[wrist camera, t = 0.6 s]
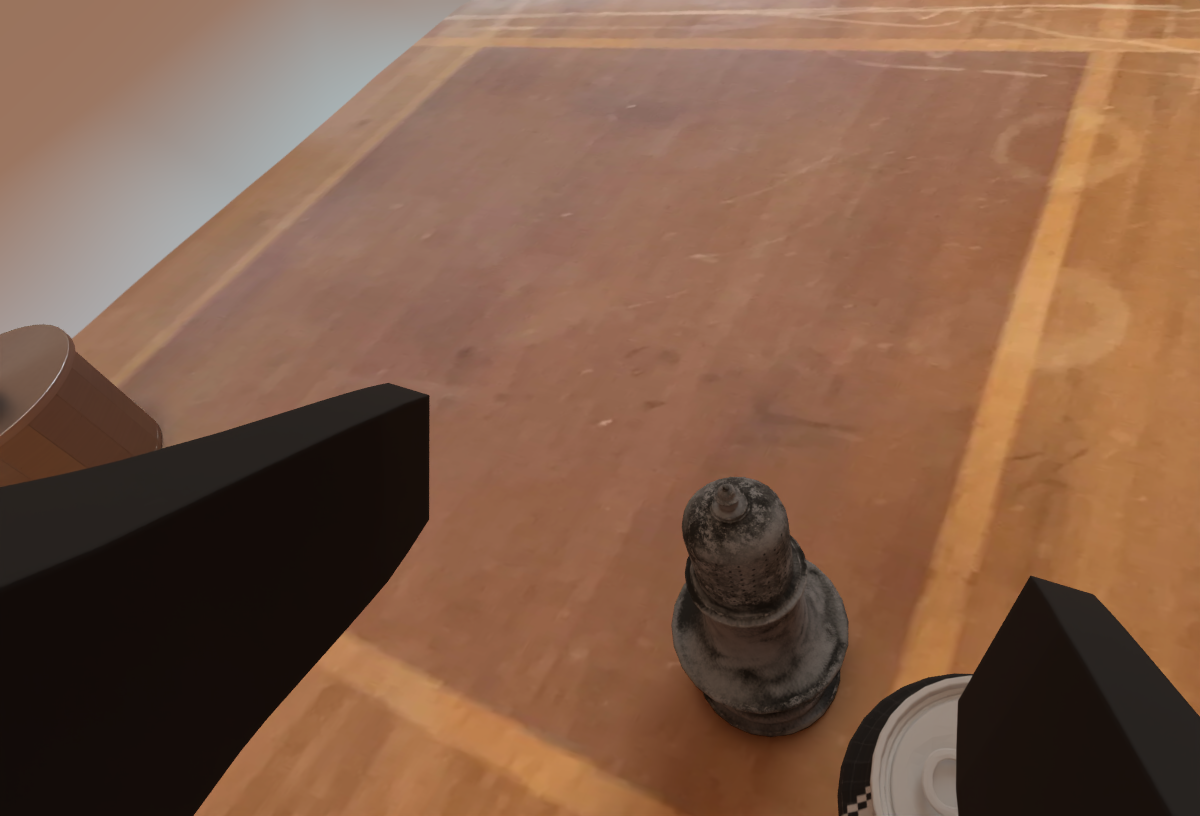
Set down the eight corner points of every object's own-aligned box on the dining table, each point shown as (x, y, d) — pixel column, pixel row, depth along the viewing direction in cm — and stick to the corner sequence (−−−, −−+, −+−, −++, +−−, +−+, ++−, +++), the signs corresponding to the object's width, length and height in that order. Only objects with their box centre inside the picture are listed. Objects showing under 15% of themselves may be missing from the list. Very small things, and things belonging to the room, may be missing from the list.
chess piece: (876, 721, 25) (889, 552, 16) (711, 764, 26) (637, 623, 17) (814, 572, 29) (797, 371, 20) (672, 612, 29) (595, 433, 21)
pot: (85, 563, 40) (-36, 490, 35) (-29, 542, 44) (-154, 472, 38) (193, 418, 46) (105, 336, 40) (84, 410, 50) (-10, 334, 44)
